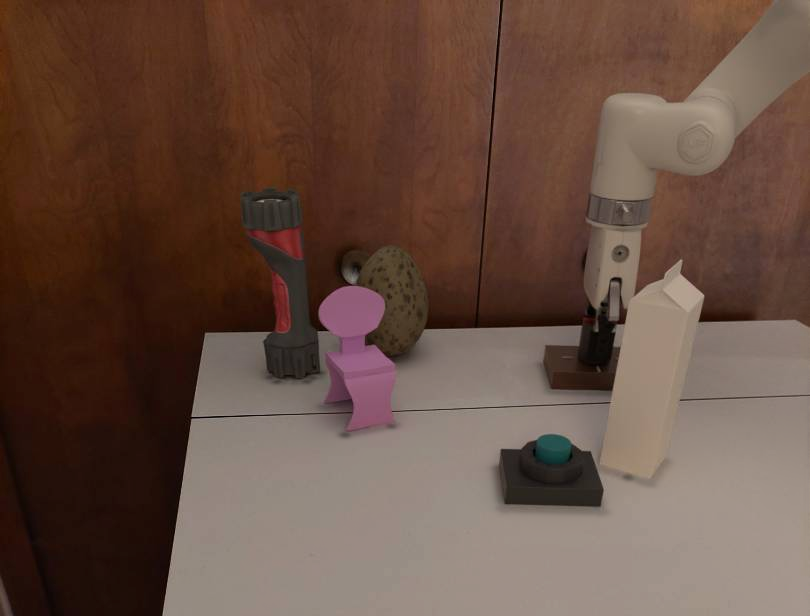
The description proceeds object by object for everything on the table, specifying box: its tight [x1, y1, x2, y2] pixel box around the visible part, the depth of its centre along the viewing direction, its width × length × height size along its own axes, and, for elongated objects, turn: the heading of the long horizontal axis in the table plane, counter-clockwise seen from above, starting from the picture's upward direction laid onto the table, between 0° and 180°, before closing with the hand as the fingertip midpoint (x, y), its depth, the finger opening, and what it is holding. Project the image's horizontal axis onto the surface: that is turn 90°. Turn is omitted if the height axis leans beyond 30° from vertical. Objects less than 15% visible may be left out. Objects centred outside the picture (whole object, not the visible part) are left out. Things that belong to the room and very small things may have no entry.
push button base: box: [498, 439, 605, 508], centre depth 85 cm, size 10×8×4 cm
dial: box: [577, 315, 609, 365], centre depth 107 cm, size 4×4×6 cm
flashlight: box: [240, 186, 321, 379], centre depth 103 cm, size 8×8×23 cm
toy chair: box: [317, 285, 397, 432], centre depth 95 cm, size 8×9×15 cm
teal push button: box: [535, 433, 572, 464], centre depth 84 cm, size 4×4×2 cm
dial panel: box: [542, 344, 621, 391], centre depth 109 cm, size 12×9×3 cm
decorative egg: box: [354, 245, 429, 357], centre depth 111 cm, size 11×11×15 cm
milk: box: [599, 258, 705, 480], centre depth 85 cm, size 6×6×22 cm
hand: (594, 350), depth 108 cm, fingers closed on dial, 4 cm apart
